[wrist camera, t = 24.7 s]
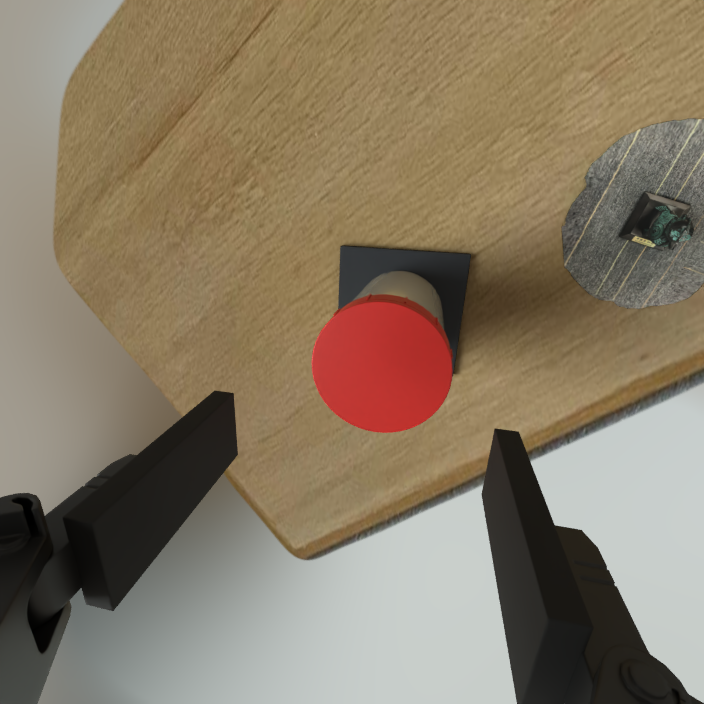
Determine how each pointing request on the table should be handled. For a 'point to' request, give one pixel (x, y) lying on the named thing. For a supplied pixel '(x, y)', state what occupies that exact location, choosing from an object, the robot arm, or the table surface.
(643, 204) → the sculpture
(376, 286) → the jar
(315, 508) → the table surface
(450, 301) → the mat
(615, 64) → the table surface
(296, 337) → the table surface
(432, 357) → the lid
